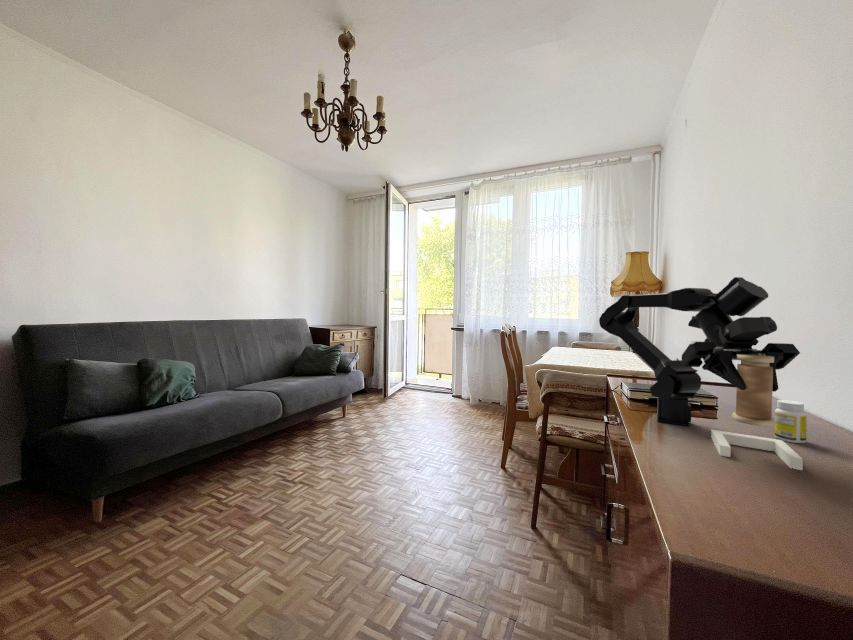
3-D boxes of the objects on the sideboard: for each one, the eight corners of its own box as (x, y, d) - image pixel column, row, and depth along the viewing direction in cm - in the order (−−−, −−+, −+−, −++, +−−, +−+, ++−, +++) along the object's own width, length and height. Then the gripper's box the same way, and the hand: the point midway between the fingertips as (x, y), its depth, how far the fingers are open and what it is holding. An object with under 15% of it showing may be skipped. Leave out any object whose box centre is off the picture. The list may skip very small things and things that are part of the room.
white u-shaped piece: (720, 455, 65) (720, 445, 65) (711, 438, 74) (711, 429, 74) (802, 470, 59) (802, 459, 59) (781, 450, 68) (781, 440, 68)
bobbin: (735, 422, 65) (737, 356, 65) (729, 415, 70) (731, 353, 70) (779, 428, 61) (781, 358, 61) (769, 420, 66) (771, 355, 66)
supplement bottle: (796, 437, 75) (797, 400, 75) (812, 445, 71) (813, 405, 71) (769, 434, 77) (770, 398, 77) (783, 442, 72) (784, 403, 72)
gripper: (690, 303, 70) (728, 362, 60) (792, 304, 68) (851, 366, 57) (668, 337, 78) (698, 395, 68) (759, 339, 76) (804, 400, 65)
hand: (759, 389), depth 64 cm, fingers closed on bobbin, 5 cm apart
